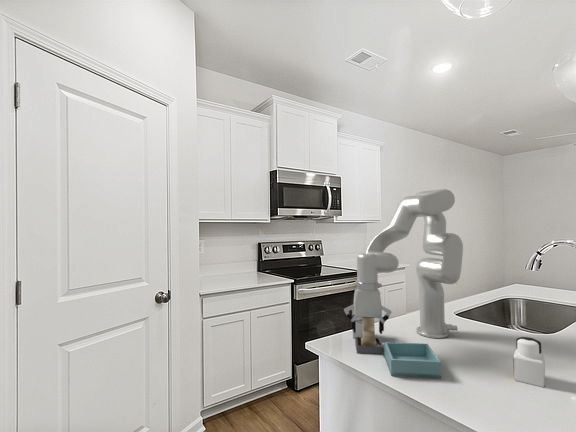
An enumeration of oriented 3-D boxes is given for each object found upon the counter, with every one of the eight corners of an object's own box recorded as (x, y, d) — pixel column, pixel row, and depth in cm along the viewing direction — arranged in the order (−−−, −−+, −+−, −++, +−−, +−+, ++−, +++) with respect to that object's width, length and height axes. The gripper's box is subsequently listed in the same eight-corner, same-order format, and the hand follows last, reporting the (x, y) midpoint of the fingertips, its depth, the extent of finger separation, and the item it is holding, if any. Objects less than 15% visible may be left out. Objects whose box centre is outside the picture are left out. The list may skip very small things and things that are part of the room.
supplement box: (352, 338, 134) (351, 307, 134) (357, 332, 140) (356, 303, 141) (370, 341, 130) (369, 309, 131) (374, 335, 137) (373, 305, 137)
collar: (380, 344, 127) (380, 337, 127) (383, 354, 118) (383, 347, 118) (355, 343, 129) (355, 336, 129) (356, 353, 119) (356, 346, 119)
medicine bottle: (516, 371, 103) (515, 333, 103) (544, 378, 99) (543, 338, 99) (513, 380, 98) (512, 340, 98) (544, 388, 93) (543, 345, 93)
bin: (427, 358, 114) (427, 343, 114) (441, 378, 100) (440, 361, 100) (384, 356, 116) (384, 342, 116) (391, 376, 102) (391, 359, 102)
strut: (375, 346, 126) (374, 314, 126) (376, 351, 120) (376, 318, 121) (361, 345, 126) (360, 314, 126) (362, 351, 121) (361, 318, 121)
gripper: (389, 285, 126) (389, 330, 126) (343, 284, 128) (343, 327, 128) (392, 289, 119) (393, 336, 118) (344, 287, 121) (344, 334, 121)
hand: (367, 332), depth 123 cm, fingers open, 9 cm apart
